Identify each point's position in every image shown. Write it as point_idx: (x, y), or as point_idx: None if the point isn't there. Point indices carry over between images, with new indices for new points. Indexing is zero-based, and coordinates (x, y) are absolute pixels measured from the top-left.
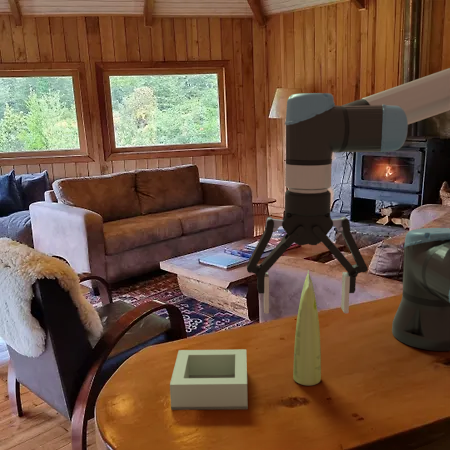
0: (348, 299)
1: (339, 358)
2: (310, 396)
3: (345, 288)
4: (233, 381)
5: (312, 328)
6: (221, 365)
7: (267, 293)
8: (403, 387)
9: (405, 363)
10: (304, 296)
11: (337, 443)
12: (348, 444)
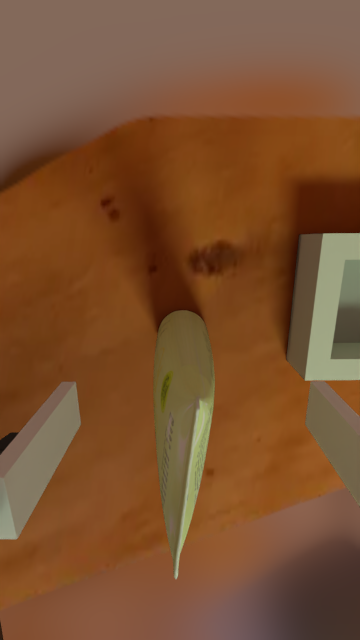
0: (42, 408)
1: (116, 403)
2: (183, 276)
3: (32, 436)
4: (350, 243)
5: (176, 344)
6: (345, 349)
7: (353, 423)
8: (17, 304)
9: (2, 384)
10: (209, 390)
11: (156, 122)
12: (137, 118)
